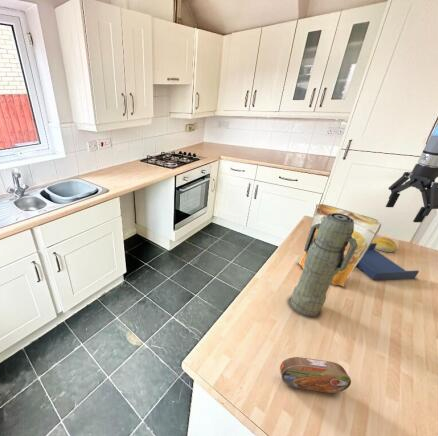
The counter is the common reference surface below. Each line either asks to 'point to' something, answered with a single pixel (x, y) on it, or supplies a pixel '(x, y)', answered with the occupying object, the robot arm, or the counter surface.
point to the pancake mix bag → (362, 234)
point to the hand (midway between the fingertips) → (402, 214)
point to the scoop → (382, 266)
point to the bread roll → (385, 244)
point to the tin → (314, 375)
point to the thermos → (323, 262)
